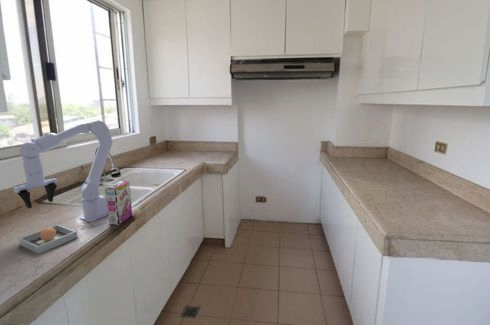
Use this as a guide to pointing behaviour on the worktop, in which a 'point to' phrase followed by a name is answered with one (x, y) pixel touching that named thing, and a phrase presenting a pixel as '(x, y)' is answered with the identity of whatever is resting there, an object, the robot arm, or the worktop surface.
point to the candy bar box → (118, 202)
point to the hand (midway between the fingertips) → (40, 204)
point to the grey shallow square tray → (47, 244)
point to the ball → (48, 234)
